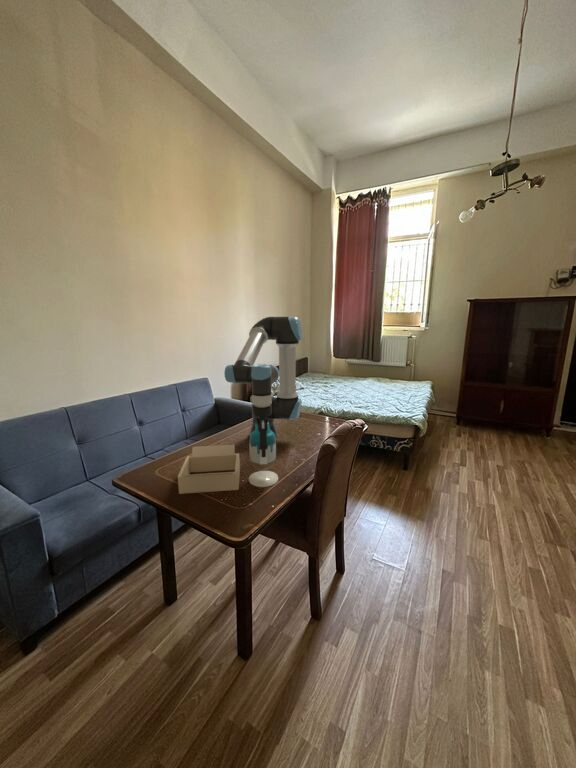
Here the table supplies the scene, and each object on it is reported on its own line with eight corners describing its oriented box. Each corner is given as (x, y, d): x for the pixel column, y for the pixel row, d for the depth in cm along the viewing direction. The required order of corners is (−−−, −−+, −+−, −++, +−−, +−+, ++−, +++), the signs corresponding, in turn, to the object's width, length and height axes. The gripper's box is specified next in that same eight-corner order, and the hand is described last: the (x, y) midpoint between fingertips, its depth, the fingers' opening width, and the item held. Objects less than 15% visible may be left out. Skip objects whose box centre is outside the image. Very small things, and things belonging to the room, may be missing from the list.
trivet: (248, 472, 133) (248, 471, 133) (276, 471, 134) (276, 469, 134) (248, 488, 121) (248, 486, 121) (279, 486, 123) (279, 484, 123)
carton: (189, 467, 138) (187, 446, 136) (240, 464, 141) (239, 444, 139) (176, 499, 114) (174, 475, 112) (238, 495, 116) (237, 471, 114)
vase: (270, 475, 120) (269, 428, 116) (245, 471, 123) (243, 425, 119) (279, 463, 130) (279, 419, 126) (256, 459, 133) (255, 417, 129)
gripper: (252, 397, 131) (253, 446, 136) (252, 414, 109) (254, 471, 114) (269, 396, 132) (270, 445, 137) (273, 413, 110) (274, 470, 115)
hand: (263, 457), depth 126 cm, fingers closed on vase, 10 cm apart
